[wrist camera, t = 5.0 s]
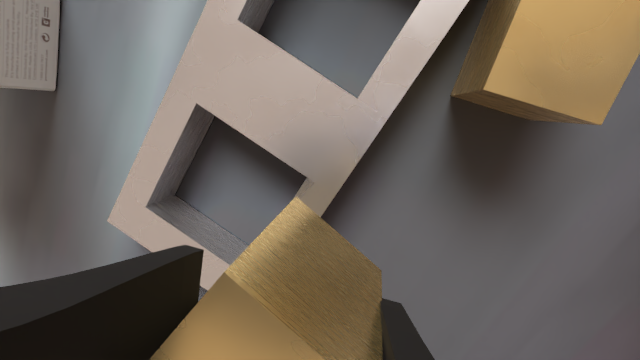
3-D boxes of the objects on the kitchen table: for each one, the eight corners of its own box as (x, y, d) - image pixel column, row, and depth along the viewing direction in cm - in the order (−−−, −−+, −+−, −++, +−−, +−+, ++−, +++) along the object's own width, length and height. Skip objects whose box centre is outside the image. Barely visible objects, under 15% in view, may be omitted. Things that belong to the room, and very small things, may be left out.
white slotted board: (500, -49, 13) (524, -81, 11) (265, 294, 19) (250, 319, 17) (319, -163, 14) (306, -218, 11) (140, 207, 19) (107, 221, 17)
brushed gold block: (381, 270, 10) (383, 410, 6) (294, 352, 12) (235, 525, 7) (296, 196, 10) (224, 271, 6) (218, 286, 12) (103, 412, 7)
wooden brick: (577, 15, 14) (687, -38, 9) (528, 119, 15) (601, 125, 10) (491, -9, 14) (551, -72, 9) (450, 95, 15) (483, 89, 10)
